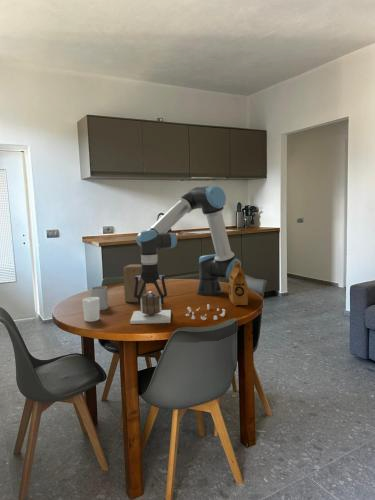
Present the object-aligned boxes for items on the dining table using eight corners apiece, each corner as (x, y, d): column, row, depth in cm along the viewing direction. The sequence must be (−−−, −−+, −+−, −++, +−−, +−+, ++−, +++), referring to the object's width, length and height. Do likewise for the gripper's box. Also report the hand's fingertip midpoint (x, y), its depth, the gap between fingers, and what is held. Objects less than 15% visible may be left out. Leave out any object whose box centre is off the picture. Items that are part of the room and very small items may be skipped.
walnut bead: (160, 309, 179) (159, 293, 178) (159, 314, 171) (158, 297, 170) (143, 309, 179) (142, 293, 178) (142, 314, 171) (141, 297, 170)
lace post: (154, 314, 176) (153, 291, 175) (153, 315, 174) (152, 292, 173) (149, 314, 176) (148, 291, 175) (148, 315, 174) (147, 292, 173)
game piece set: (177, 316, 179) (176, 308, 179) (205, 307, 193) (205, 300, 192) (206, 324, 165) (206, 315, 165) (235, 314, 179) (235, 306, 179)
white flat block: (170, 312, 183) (170, 309, 183) (170, 322, 167) (170, 319, 167) (134, 314, 183) (133, 311, 183) (130, 324, 167) (130, 320, 167)
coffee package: (230, 306, 192) (229, 264, 190) (228, 300, 205) (227, 261, 202) (249, 306, 192) (249, 264, 190) (246, 300, 204) (246, 260, 202)
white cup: (85, 317, 179) (83, 297, 178) (101, 316, 179) (100, 296, 178) (81, 322, 171) (80, 301, 170) (99, 321, 172) (98, 300, 171)
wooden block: (141, 302, 205) (140, 266, 203) (124, 302, 207) (122, 266, 205) (147, 298, 214) (145, 264, 212) (130, 298, 216) (129, 264, 214)
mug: (105, 310, 191) (104, 289, 189) (89, 310, 192) (87, 289, 190) (112, 304, 202) (111, 284, 201) (97, 304, 204) (96, 284, 202)
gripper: (125, 265, 168) (128, 314, 171) (171, 264, 169) (173, 312, 171) (127, 263, 176) (129, 310, 178) (172, 261, 176) (173, 308, 179)
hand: (151, 311), depth 175 cm, fingers closed on walnut bead, 8 cm apart
